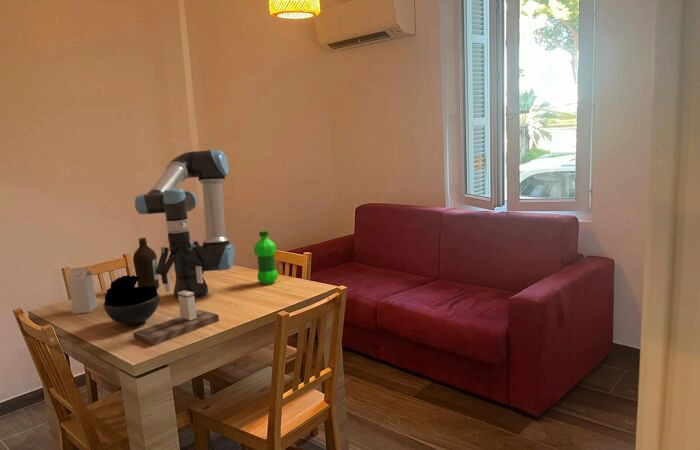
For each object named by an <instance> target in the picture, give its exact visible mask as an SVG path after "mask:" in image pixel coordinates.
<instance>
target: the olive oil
mask: <svg viewBox="0 0 700 450" xmlns="http://www.w3.org/2000/svg"><path fill="white" fill-rule="evenodd" d="M157 257H158V256H157V253H156V252H155V250H154V249H152V248H151V247H150V246H149V245H148V243H147V238H146V237H139V238H138V248H137V249H136V250H135V252H133V257H132V261H133V267H134V271H135V272H134V273H135V276H136V277H139V279H138V280H137V282H136V284H137V287H142V286H148V287H151V286H153V285H154V286H155V287H156V289H159V288H160V283H159V281H160V280H159V274H156V269H157V266H158V258H157Z"/></svg>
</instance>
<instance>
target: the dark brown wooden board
mask: <svg viewBox="0 0 700 450" xmlns="http://www.w3.org/2000/svg"><path fill="white" fill-rule="evenodd" d="M196 315H197V318H196V319H193V320H186V319H183V318H181V316H180V315H179V316H178V317H174V318H172V319H168V320H166V321H162V322H160V323H157V324H155V325H151V326H148V327H145V328H143V329H140V330H138V331H137V330H136V331H135V332H134V331H133V333H132V335H133V340H134V341H138V342H140V343H142V344H145V345H147V346H151V347H154V346H156V345H160V344H162V343H165V342H167V341H170V340H172V339H175V338H177V337H179V336H183V335H185V334H188V333H191V332H193V331H196V330H199V329H201V328H205V327H206V326H209V325H212V324H215V323H217V322H219V321H220V317H219V314H218V313H213V312H211V311H206V310H203V309H202V310H201V309H196Z"/></svg>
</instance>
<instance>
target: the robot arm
mask: <svg viewBox="0 0 700 450" xmlns="http://www.w3.org/2000/svg"><path fill="white" fill-rule="evenodd" d="M229 168H230V167H229V162H228V158H227V157H226V155H225V153H224V152H223V151H222V150H220V149H217V150H216V149H214V150H213V149H210V150H196V151H186V152H184V153H182V154H180V155H178V156H176V157H175V158H173V159H172V160H171V161H170V162H169V163H168V164H167V165H166V166H165V171H164V173H163V174H162V175H161V176H160V178H159V179H157V181H156V182H155V183H154V185H153V186H152V187H151V188H150V190H149V191H148V192H147V193H146V194H144V193H143V194H139V195H136V197H135V199H134V207H135V210H136V212H137V213H138V214H140V215H153V214H165V221H166V230H167V232H168V233H167V241H168V243H169V246H168V247H166V246H162V247H161V251H160V253H161V254H160V256H159V257H160V258H159V260H158V262H157V269H156V274H158V276H159V275H160V276H161V283H162V284H163V285H164V291H165V293H172V287H171V280H170V277H171V276H170V274H168V273H169V271H170V270H171V267H172V266H174V272H175V273H174V274H175V284H174V288H173V296H174V298H175V299H178V292H181V291H184V290H186V291H190V292H194V298H198V297H199V298H200V297H203V296H204V295H207V294H208V293H209V287H208V284H207V283H206V280H205V277H204V275H203V274H204V272H212V271H217V272H218V271H220V272H221V271H227V270H230V269H231V268H232V266H233V263H234V259H235V247H234V245H233V244H232V243H230V239H229V238H228V237H227V235H226V226H225V212H224V211H225V210H224V195H223V194H224V193H223V192H224V191H223V183H224V182H225V181H226V177H227V176H228V175H229V173H230V172H229V170H230V169H229ZM191 178H193V179H194V178H197V179H198V182H199V183H200V184H201V185H202V199H203V214H204V227H205V239H204V240H203V241H202V245H200V243H199V242H198V240H191V237H190V231H189V229H190V228H189V220H188V212H191V211H192V210H194V209H195V208H196V207H197V206H198V197H197V195H196V194H195V193H194V192H192V191H189V190H188V191H185V190H184V189H183V188H178V186H179V185H180V184H181V183H182V182H184V181H186V180H187V179H191ZM190 240H191V241H190ZM173 264H174V265H173Z"/></svg>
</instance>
